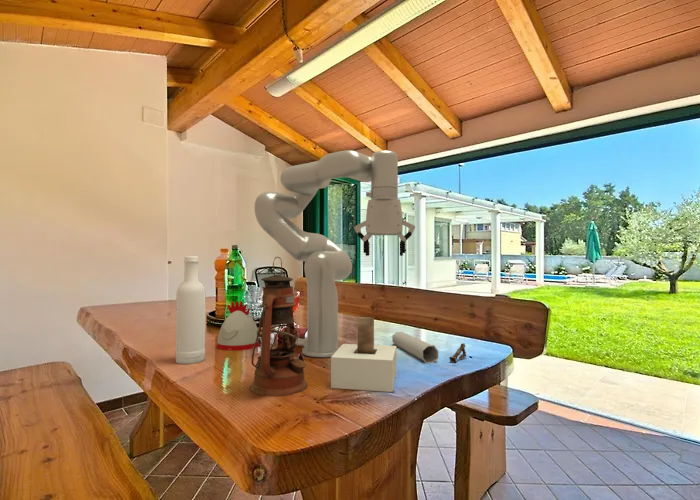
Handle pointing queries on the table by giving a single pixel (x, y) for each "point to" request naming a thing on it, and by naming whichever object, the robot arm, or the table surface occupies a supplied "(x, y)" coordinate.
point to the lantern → (278, 364)
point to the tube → (416, 347)
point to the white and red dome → (238, 330)
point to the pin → (365, 335)
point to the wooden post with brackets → (454, 357)
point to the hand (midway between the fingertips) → (384, 255)
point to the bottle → (190, 316)
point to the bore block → (364, 368)
